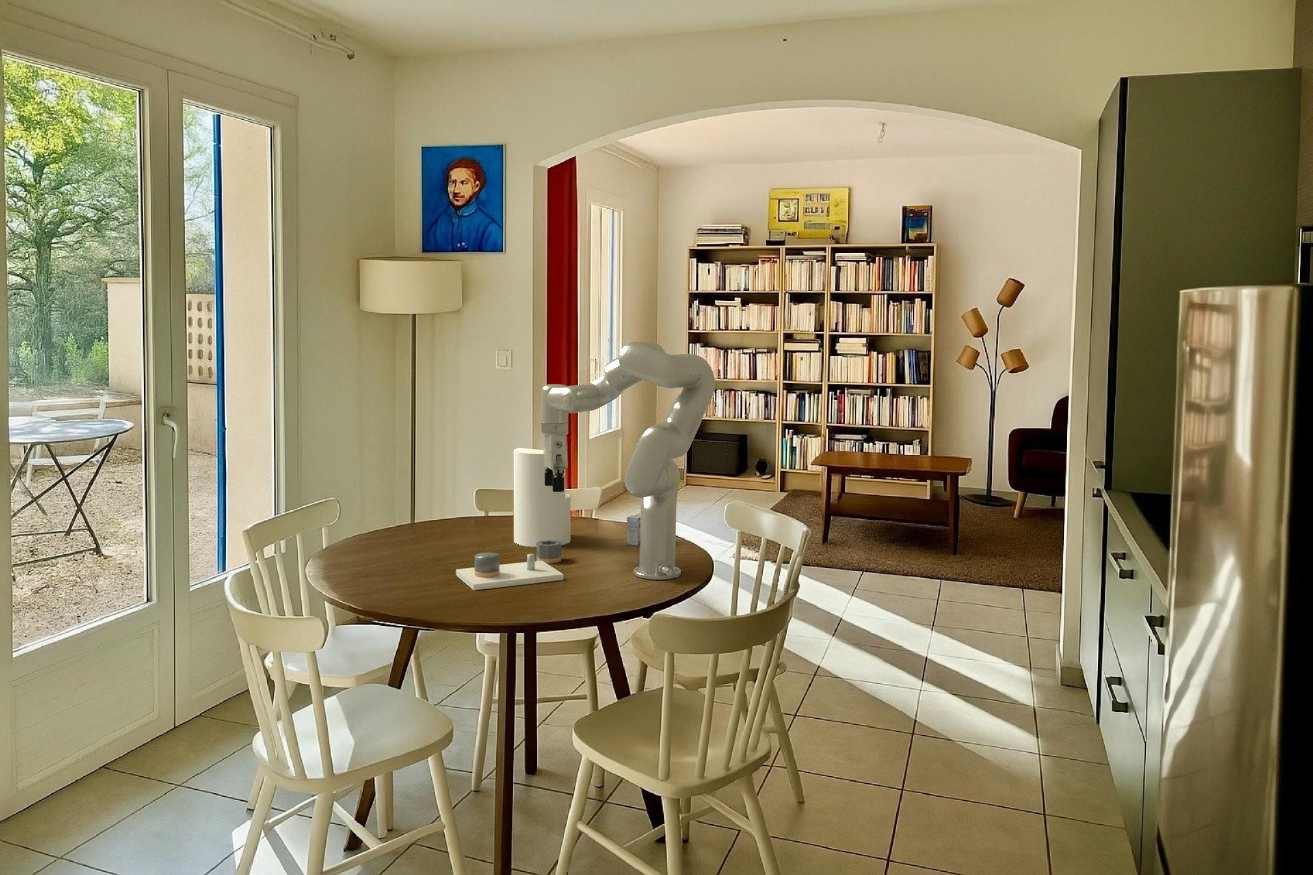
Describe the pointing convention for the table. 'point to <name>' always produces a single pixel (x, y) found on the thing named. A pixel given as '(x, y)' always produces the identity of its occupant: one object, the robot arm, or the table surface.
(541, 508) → the cylinder
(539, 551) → the sleeve
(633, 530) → the medicine box
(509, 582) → the pin board
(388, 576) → the table surface
